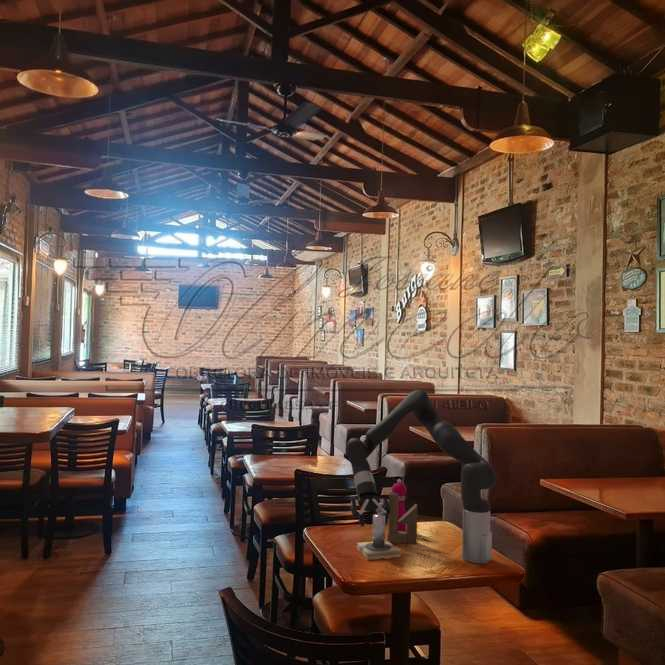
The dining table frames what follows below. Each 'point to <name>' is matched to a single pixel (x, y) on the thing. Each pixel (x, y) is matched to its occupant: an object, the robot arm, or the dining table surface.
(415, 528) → the wooden block
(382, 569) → the dining table surface
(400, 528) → the pepper mill
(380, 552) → the rest block
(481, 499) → the robot arm
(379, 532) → the axle
